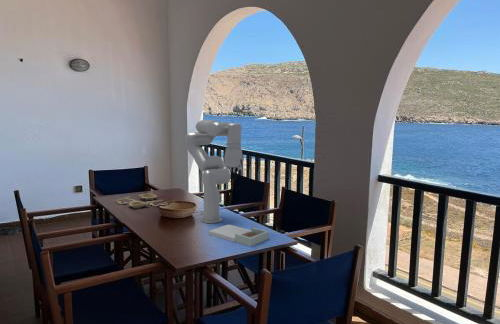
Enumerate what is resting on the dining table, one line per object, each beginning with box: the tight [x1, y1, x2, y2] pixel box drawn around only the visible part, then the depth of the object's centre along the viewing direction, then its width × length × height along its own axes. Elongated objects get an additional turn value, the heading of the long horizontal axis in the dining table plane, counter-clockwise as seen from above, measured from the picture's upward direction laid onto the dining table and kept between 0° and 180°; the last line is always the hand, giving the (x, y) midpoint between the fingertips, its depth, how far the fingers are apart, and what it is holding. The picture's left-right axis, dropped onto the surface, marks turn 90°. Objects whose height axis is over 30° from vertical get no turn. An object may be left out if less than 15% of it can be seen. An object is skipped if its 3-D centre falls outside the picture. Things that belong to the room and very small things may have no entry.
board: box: [208, 224, 252, 243], centre depth 203 cm, size 18×16×2 cm
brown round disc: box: [242, 232, 259, 238], centre depth 196 cm, size 7×7×3 cm
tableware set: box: [115, 192, 164, 209], centre depth 267 cm, size 35×29×4 cm
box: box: [234, 227, 270, 247], centre depth 194 cm, size 10×15×4 cm
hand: (233, 179), depth 206 cm, fingers closed
